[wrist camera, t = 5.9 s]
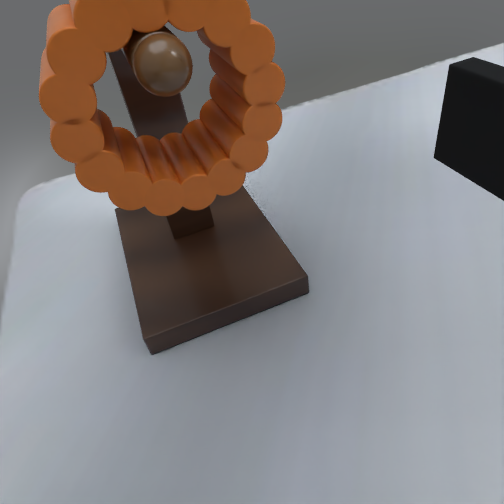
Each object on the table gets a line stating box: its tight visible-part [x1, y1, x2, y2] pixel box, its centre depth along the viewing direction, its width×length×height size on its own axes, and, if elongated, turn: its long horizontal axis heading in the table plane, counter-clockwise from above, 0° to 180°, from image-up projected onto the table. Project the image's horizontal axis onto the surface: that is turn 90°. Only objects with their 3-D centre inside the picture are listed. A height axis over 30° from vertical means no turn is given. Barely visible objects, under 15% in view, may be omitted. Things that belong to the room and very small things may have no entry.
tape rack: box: [107, 26, 309, 354], centre depth 23 cm, size 16×10×18 cm, turn 21°
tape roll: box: [39, 0, 285, 216], centre depth 17 cm, size 9×5×9 cm, turn 111°
